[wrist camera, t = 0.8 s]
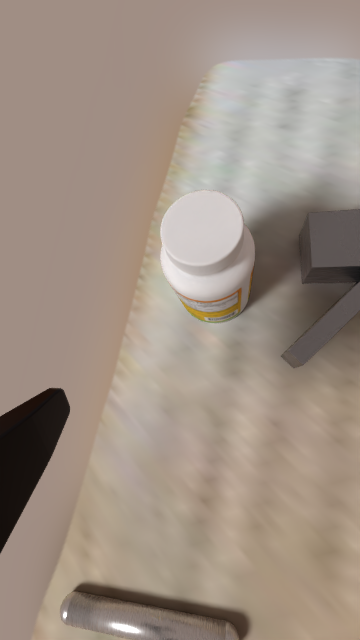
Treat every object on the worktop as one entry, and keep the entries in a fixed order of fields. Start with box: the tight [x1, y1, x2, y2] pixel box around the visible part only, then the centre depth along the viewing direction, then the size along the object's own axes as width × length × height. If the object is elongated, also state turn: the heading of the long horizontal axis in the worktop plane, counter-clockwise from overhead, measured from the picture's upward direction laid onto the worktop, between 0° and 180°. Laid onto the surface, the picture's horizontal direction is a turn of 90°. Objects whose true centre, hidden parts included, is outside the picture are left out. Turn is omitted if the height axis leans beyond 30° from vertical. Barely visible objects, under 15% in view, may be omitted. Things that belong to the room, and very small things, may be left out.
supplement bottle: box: [160, 190, 255, 324], centre depth 18 cm, size 5×5×10 cm
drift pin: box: [60, 591, 239, 640], centre depth 18 cm, size 12×2×2 cm, turn 88°
